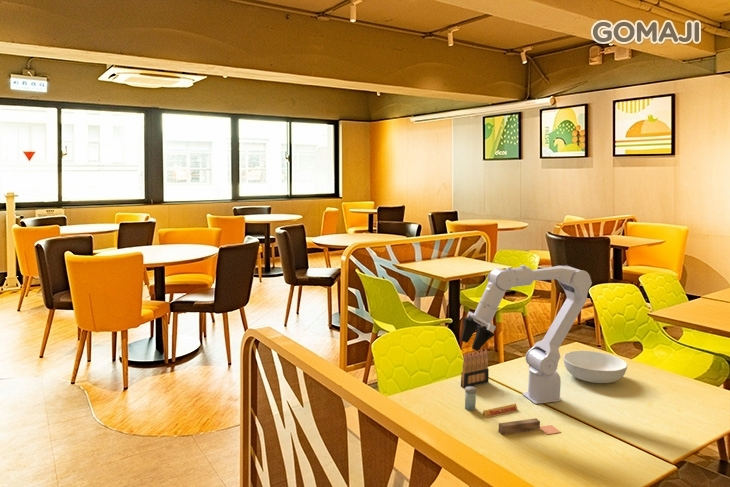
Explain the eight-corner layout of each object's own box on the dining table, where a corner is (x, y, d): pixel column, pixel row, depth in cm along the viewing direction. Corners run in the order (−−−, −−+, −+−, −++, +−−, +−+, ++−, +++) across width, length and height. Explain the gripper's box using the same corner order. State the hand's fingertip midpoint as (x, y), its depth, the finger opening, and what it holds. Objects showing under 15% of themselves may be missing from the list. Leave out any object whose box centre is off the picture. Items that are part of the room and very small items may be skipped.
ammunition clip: (463, 388, 191) (464, 354, 190) (460, 386, 193) (461, 352, 191) (488, 382, 196) (489, 349, 195) (485, 380, 198) (486, 347, 196)
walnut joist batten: (535, 426, 164) (536, 418, 164) (539, 429, 162) (540, 421, 162) (498, 431, 161) (498, 423, 160) (501, 434, 159) (502, 426, 159)
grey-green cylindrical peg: (472, 405, 178) (473, 385, 177) (477, 410, 175) (478, 389, 174) (462, 406, 177) (463, 387, 176) (467, 411, 174) (468, 391, 173)
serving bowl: (637, 390, 190) (638, 371, 189) (574, 390, 190) (575, 370, 189) (611, 368, 211) (612, 350, 210) (554, 367, 211) (555, 349, 210)
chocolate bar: (518, 412, 174) (518, 405, 174) (486, 419, 169) (486, 412, 169) (512, 408, 177) (513, 401, 176) (481, 415, 172) (481, 408, 171)
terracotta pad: (551, 425, 165) (551, 424, 165) (560, 432, 160) (561, 432, 160) (538, 427, 163) (538, 426, 163) (547, 434, 159) (547, 434, 159)
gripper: (467, 295, 180) (449, 333, 180) (488, 307, 166) (469, 349, 166) (485, 303, 182) (467, 341, 182) (508, 315, 168) (488, 357, 169)
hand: (469, 345), depth 175 cm, fingers open, 7 cm apart
